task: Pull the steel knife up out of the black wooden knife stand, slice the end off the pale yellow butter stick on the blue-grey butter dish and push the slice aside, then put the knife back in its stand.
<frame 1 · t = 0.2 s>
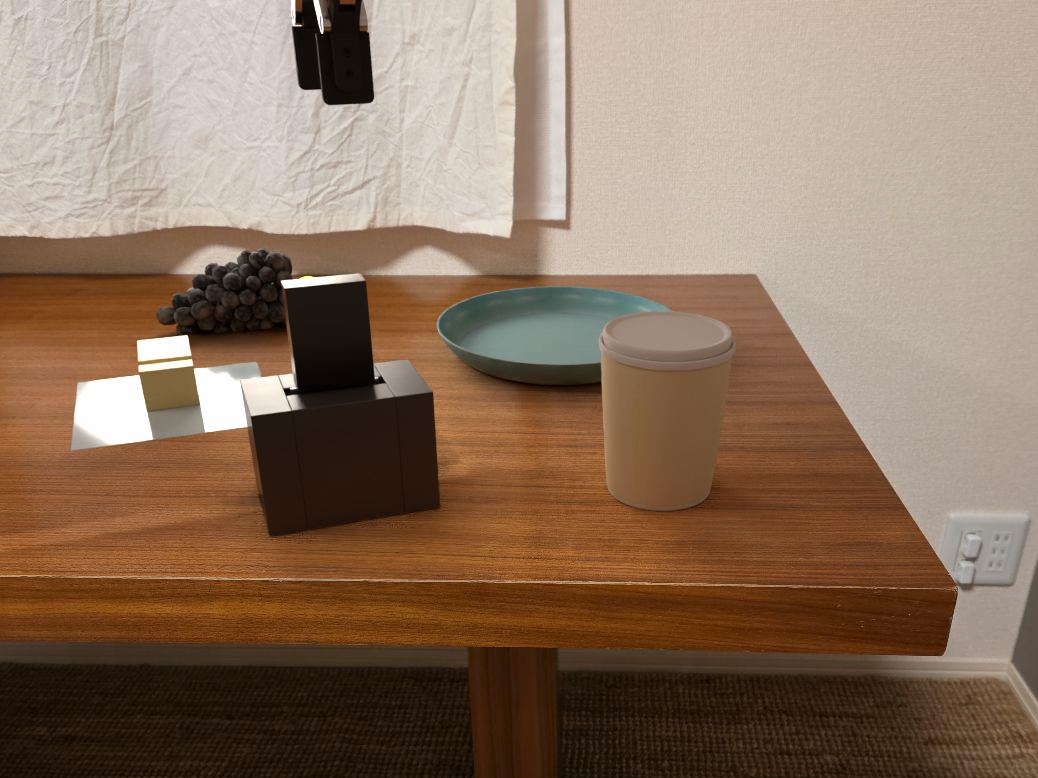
hand: (334, 95, 67), 26 cm above the table, tool pointing down, fingers open, 9 cm apart
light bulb: (302, 310, 114), on the table
knife: (336, 396, 69), in the knife stand
butter dish: (175, 412, 88), on the table
knife stand: (347, 500, 73), on the table
fruit: (235, 334, 107), on the table
butter: (170, 385, 91), point 1 cm above the table, touching butter dish
coffee cup: (658, 489, 75), on the table
teal plate: (558, 353, 101), on the table
butter slice: (173, 404, 87), point 1 cm above the table, touching butter dish
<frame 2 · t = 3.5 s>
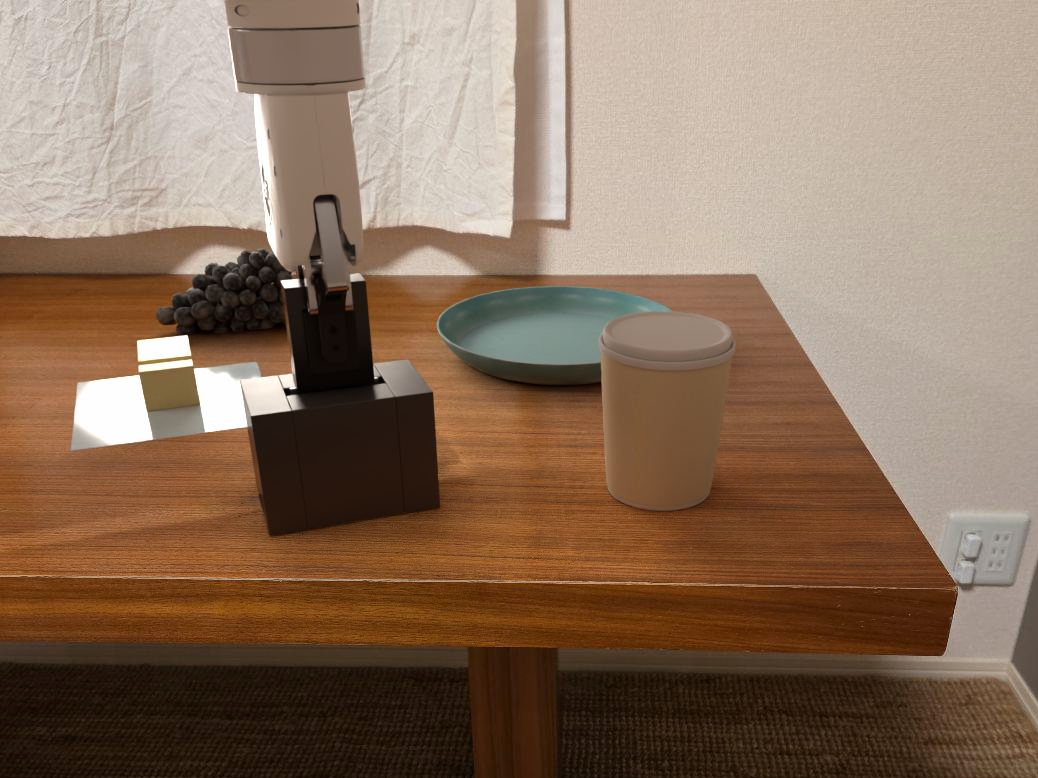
hand: (331, 361, 68), 11 cm above the table, tool pointing down, fingers closed on knife, 2 cm apart
knife: (335, 396, 69), in the knife stand, touching gripper
everything else where it was.
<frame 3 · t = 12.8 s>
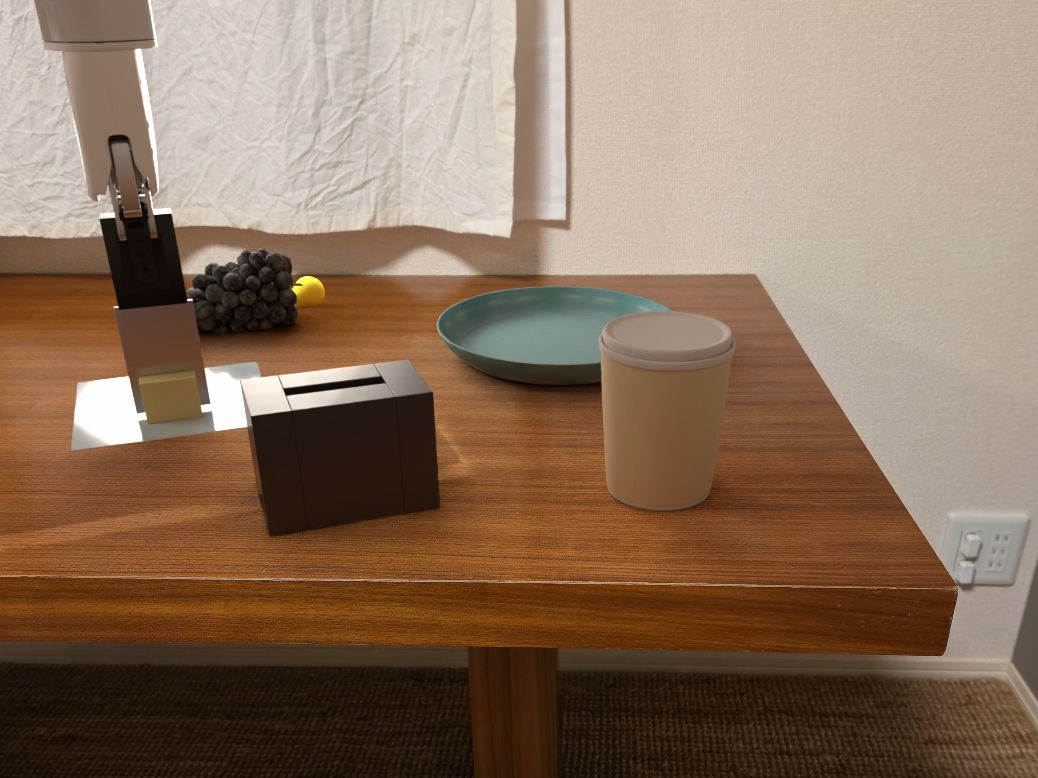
hand: (148, 283, 80), 12 cm above the table, tool pointing down, fingers closed on knife, 2 cm apart
knife: (155, 315, 81), point 9 cm above the table, touching butter slice, gripper
butter slice: (175, 416, 84), point 1 cm above the table, touching butter dish, knife
everything else where it was.
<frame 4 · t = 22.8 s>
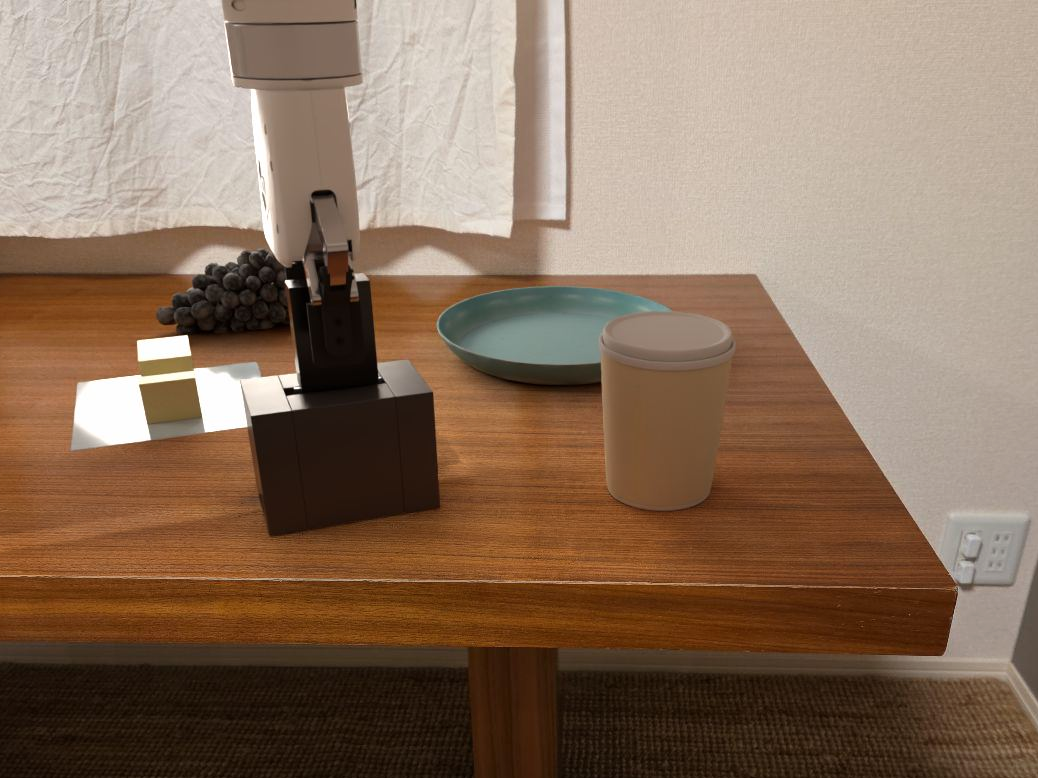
hand: (326, 340, 67), 12 cm above the table, tool pointing down, fingers open, 9 cm apart
knife: (339, 396, 69), in the knife stand
butter slice: (174, 417, 84), point 1 cm above the table, touching butter dish
everything else where it was.
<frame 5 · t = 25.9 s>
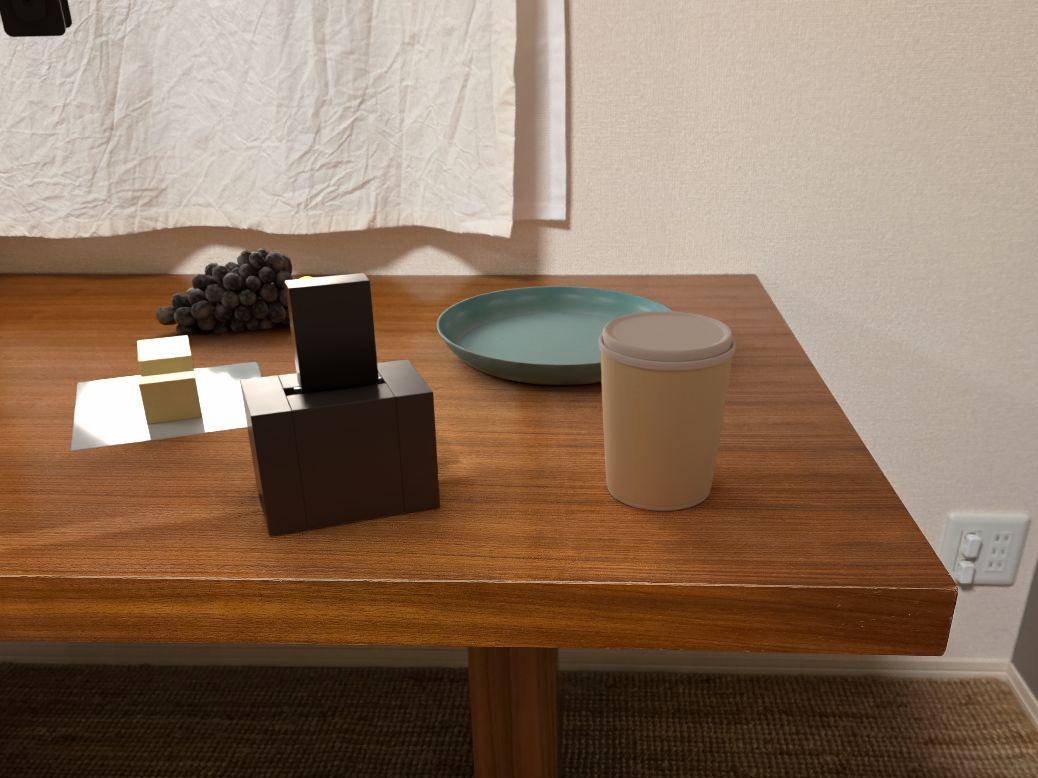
hand: (42, 31, 61), 30 cm above the table, tool pointing down, fingers open, 9 cm apart
nothing on the table moved.
at the end: butter slice moved 3.0 cm from its start; butter moved 0.0 cm from its start; knife 0.2 cm off-centre on the knife stand, point 8.0 cm above the knife stand's base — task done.
